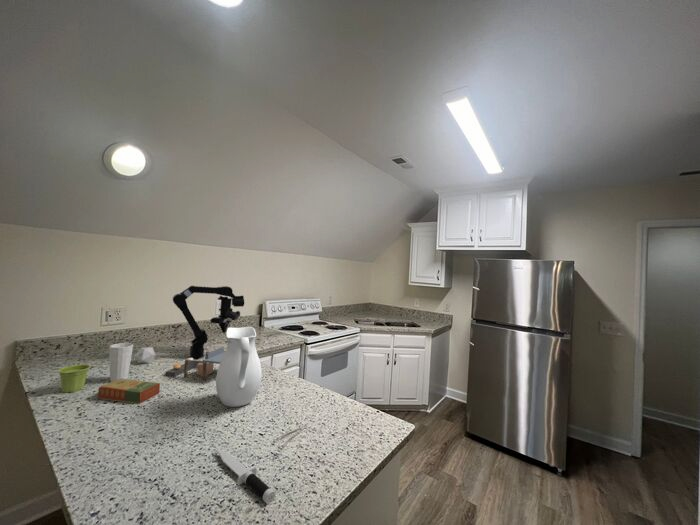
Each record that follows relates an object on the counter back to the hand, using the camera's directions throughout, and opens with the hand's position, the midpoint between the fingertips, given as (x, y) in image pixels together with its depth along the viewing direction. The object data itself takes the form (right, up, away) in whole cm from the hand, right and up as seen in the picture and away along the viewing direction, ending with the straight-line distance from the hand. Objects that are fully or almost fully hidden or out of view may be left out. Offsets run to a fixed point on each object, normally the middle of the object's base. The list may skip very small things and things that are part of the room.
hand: (224, 332), depth 168 cm
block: (+5, -12, -32) cm, 35 cm away
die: (-33, -11, -21) cm, 40 cm away
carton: (-11, -11, -59) cm, 61 cm away
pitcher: (+34, -12, -62) cm, 72 cm away
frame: (+5, -12, -32) cm, 35 cm away
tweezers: (+59, -13, -79) cm, 100 cm away
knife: (+49, -12, -98) cm, 110 cm away
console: (-7, -12, -30) cm, 33 cm away
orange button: (-8, -9, -34) cm, 36 cm away
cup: (-27, -10, -44) cm, 53 cm away
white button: (-6, -8, -26) cm, 28 cm away
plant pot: (-36, -9, -56) cm, 67 cm away
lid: (+15, -4, -34) cm, 37 cm away
